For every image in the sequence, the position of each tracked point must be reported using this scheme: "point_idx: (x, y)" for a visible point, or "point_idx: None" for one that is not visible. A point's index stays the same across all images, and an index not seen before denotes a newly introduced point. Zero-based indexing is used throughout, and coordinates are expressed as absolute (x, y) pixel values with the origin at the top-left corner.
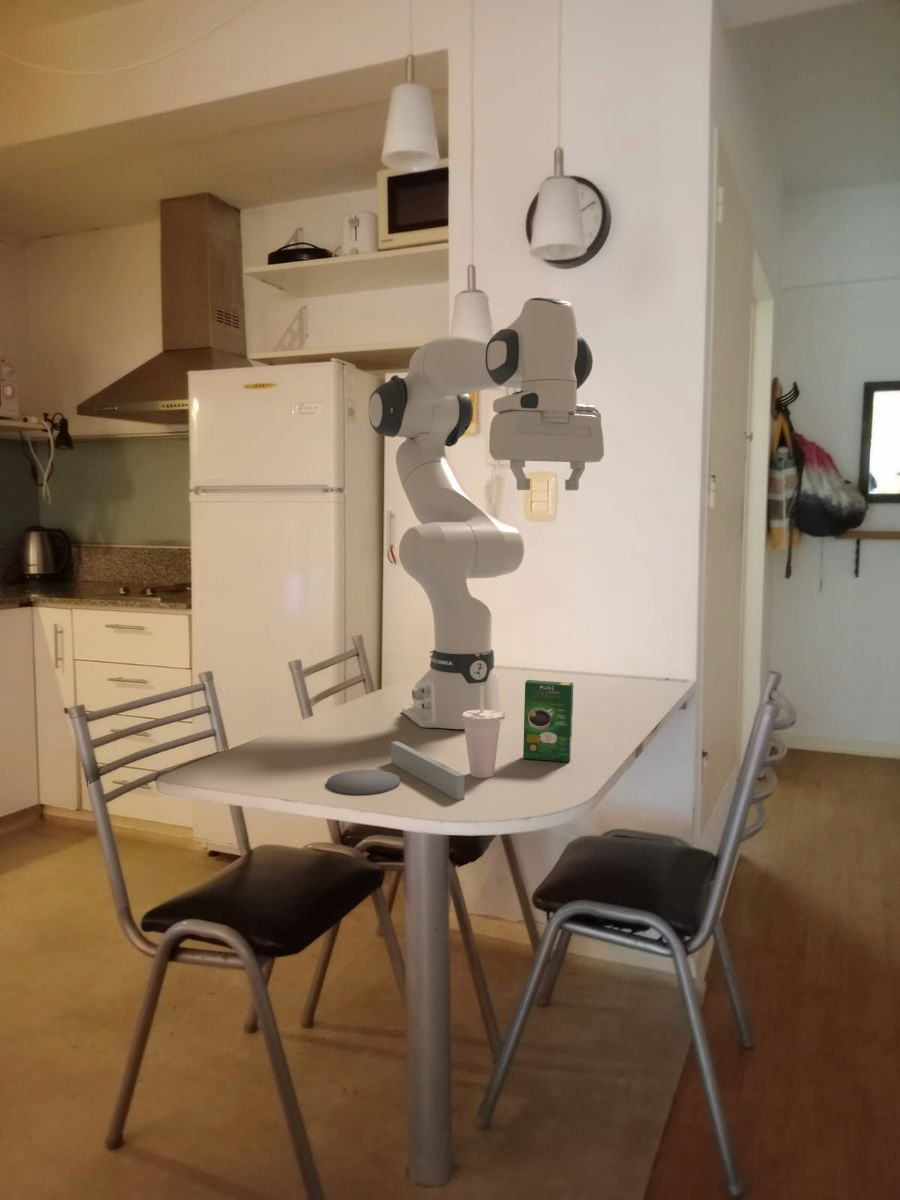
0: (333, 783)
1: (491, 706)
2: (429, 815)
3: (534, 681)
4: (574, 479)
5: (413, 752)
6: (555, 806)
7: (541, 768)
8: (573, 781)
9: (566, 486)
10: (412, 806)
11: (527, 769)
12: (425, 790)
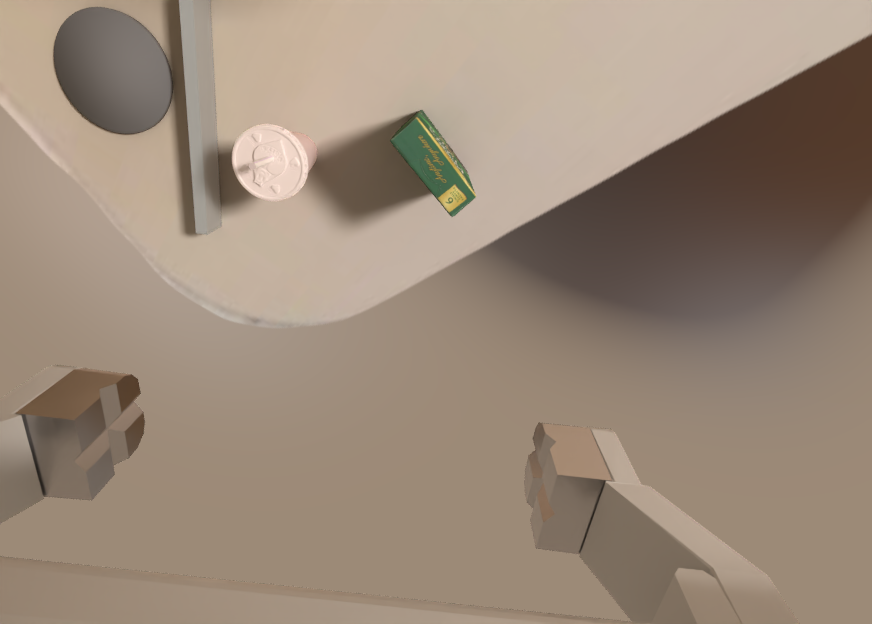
0: (62, 59)
1: None
2: (155, 249)
3: (410, 147)
4: (568, 550)
5: (187, 81)
6: (305, 312)
7: (394, 183)
8: (389, 256)
9: (542, 448)
10: (148, 209)
11: (373, 173)
12: (189, 163)
